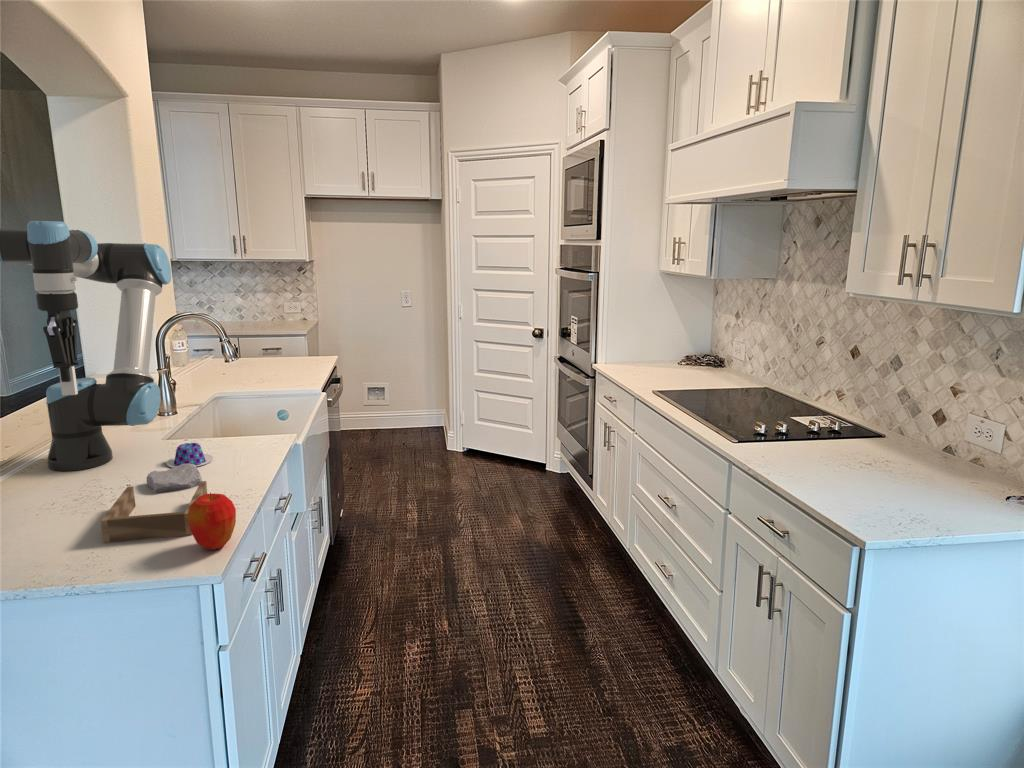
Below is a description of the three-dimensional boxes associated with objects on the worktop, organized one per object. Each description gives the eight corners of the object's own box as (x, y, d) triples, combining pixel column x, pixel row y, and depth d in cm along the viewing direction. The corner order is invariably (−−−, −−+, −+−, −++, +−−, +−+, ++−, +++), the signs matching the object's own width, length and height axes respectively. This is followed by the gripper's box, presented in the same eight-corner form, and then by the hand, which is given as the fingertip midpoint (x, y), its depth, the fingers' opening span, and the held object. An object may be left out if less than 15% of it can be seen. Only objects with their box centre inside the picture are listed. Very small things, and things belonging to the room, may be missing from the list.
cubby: (130, 506, 154) (127, 486, 153) (208, 500, 159) (206, 481, 158) (103, 543, 136) (100, 520, 135) (192, 534, 141) (190, 513, 139)
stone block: (206, 491, 169) (194, 473, 176) (205, 475, 167) (193, 458, 174) (156, 504, 162) (145, 485, 168) (154, 488, 160) (143, 469, 166)
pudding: (205, 469, 179) (204, 451, 178) (159, 471, 178) (157, 452, 177) (218, 455, 191) (217, 438, 190) (175, 456, 189) (173, 439, 188)
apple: (183, 545, 136) (178, 491, 133) (227, 532, 142) (223, 480, 139) (200, 561, 129) (195, 505, 127) (245, 547, 136) (241, 493, 133)
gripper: (64, 294, 141) (78, 400, 146) (85, 289, 153) (97, 387, 158) (24, 294, 139) (39, 402, 144) (48, 289, 151) (62, 388, 156)
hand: (70, 394), depth 151 cm, fingers closed
